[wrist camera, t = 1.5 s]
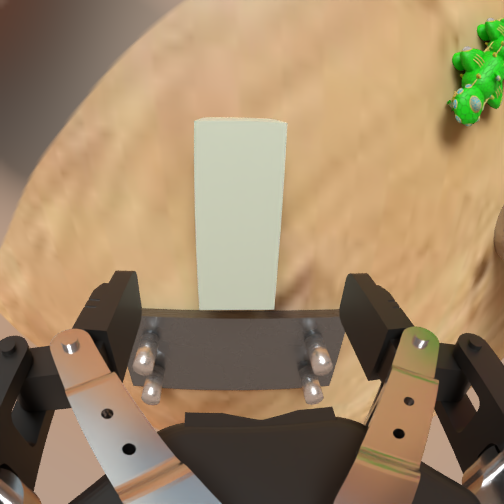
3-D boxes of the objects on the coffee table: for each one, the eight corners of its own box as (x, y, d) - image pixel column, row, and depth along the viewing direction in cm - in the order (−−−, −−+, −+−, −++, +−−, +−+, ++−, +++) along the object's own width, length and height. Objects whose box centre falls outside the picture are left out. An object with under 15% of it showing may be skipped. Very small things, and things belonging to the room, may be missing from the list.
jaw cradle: (345, 309, 31) (362, 343, 26) (326, 378, 35) (337, 412, 30) (118, 307, 29) (102, 342, 24) (135, 377, 33) (126, 412, 28)
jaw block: (271, 118, 23) (287, 123, 17) (263, 262, 28) (274, 309, 22) (204, 117, 22) (194, 120, 16) (205, 261, 28) (199, 309, 21)
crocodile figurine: (415, 89, 22) (445, 89, 18) (495, -3, 17) (522, -8, 13) (456, 143, 24) (485, 152, 20) (526, 45, 19) (553, 46, 15)
